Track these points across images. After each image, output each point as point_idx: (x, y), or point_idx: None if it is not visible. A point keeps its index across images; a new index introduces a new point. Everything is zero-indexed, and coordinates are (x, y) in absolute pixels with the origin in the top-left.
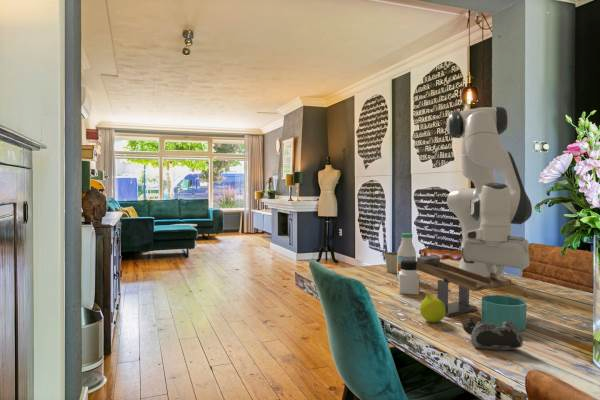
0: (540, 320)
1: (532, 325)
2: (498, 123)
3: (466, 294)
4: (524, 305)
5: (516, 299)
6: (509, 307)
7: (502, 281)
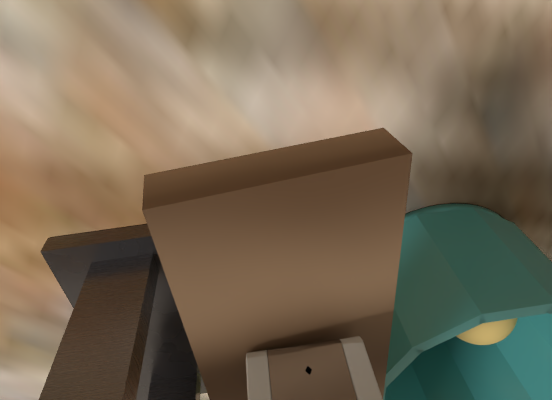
0: (545, 47)
1: (528, 174)
2: None
3: (144, 333)
4: None
5: (532, 309)
6: None
7: (388, 315)
